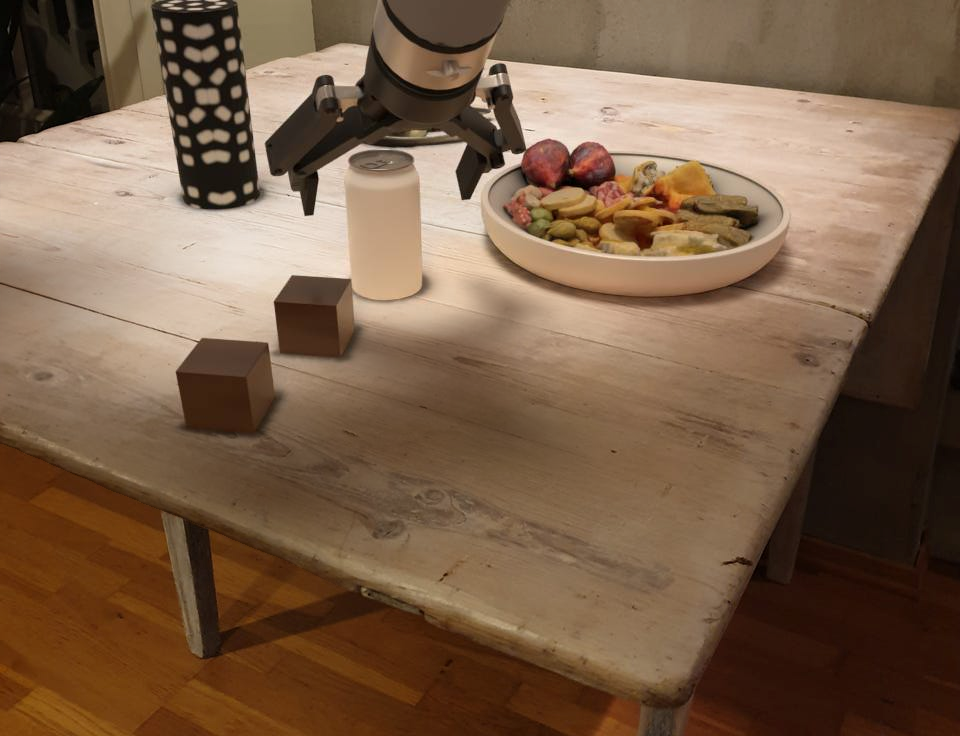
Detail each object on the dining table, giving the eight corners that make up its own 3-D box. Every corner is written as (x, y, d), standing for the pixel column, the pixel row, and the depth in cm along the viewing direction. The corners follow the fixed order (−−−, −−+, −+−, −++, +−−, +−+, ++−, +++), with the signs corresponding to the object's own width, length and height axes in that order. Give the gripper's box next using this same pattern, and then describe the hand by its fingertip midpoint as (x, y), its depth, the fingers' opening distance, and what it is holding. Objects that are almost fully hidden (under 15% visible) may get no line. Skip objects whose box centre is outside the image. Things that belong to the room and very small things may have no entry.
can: (437, 289, 89) (435, 159, 82) (383, 311, 85) (376, 176, 78) (390, 268, 93) (385, 142, 86) (337, 288, 89) (327, 158, 82)
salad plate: (477, 107, 139) (477, 74, 137) (508, 144, 125) (509, 107, 122) (343, 114, 136) (340, 80, 133) (359, 153, 121) (357, 116, 119)
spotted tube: (225, 218, 103) (196, 15, 91) (167, 203, 106) (132, 6, 95) (275, 195, 109) (254, 2, 97) (219, 182, 112) (193, -6, 101)
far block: (297, 329, 82) (291, 274, 79) (355, 333, 81) (351, 278, 79) (280, 357, 78) (273, 301, 75) (340, 362, 77) (336, 305, 75)
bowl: (838, 248, 98) (856, 172, 93) (657, 345, 80) (669, 257, 76) (608, 175, 115) (614, 108, 111) (419, 242, 98) (417, 165, 93)
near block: (211, 396, 73) (201, 337, 70) (275, 401, 72) (268, 342, 70) (186, 432, 69) (175, 371, 66) (254, 438, 68) (246, 376, 65)
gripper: (242, 110, 58) (244, 250, 78) (622, 83, 64) (533, 219, 85) (221, -2, 59) (228, 165, 79) (596, -18, 66) (515, 140, 86)
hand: (386, 193), depth 82 cm, fingers open, 13 cm apart
